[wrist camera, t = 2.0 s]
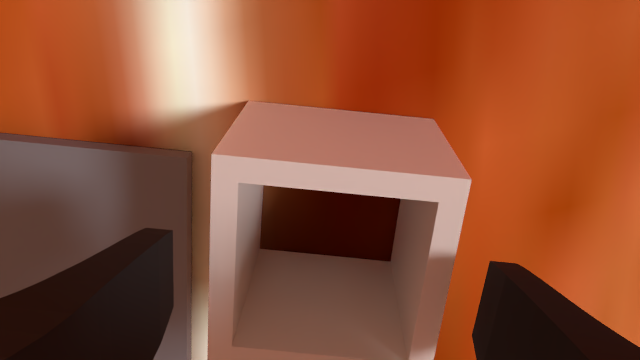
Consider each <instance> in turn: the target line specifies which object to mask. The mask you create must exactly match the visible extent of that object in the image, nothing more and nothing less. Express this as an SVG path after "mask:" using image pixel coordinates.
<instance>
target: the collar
mask: <svg viewBox="0 0 640 360" xmlns="http://www.w3.org/2000/svg"><path fill="white" fill-rule="evenodd" d="M471 180H472V179H471V178H470V176H469V175H468V173H467V172H466V170H465V168H464V167H463V165H462V164H461V162H460V160H459V159H458V157H457V156H456V154H455V152H454V151H453V149H452V148H451V146H450V144H449V143H448V141H447V140H446V138H445V136H444V135H443V133H442V132H441V130H440V129H439V127H438V125H437V124H436V122H435V121H434V119H428V118H417V117H407V116H397V115H387V114H377V113H367V112H357V111H347V110H337V109H326V108H316V107H306V106H296V105H286V104H276V103H266V102H256V101H248V102H247V104H246V105H245V107H244V108H243V109H242V111H241V112H240V114H239V115H238V117H237V118H236V119H235V121H234V122H233V124H232V125H231V127H230V128H229V129H228V131H227V132H226V134H225V135H224V137H223V138H222V140H221V141H220V142H219V144H218V145H217V147H216V148H215V150H214V151H213V152H212V154H211V203H210V257H209V311H208V360H434V355H435V350H436V346H437V341H438V336H439V331H440V327H441V322H442V317H443V313H444V308H445V303H446V298H447V294H448V289H449V284H450V279H451V275H452V270H453V265H454V261H455V256H456V251H457V246H458V242H459V237H460V232H461V227H462V223H463V218H464V213H465V209H466V204H467V199H468V194H469V190H470V185H471ZM264 185H268V186H278V187H288V188H298V189H308V190H318V191H328V192H339V193H349V194H359V195H369V196H379V197H389V198H399V199H400V206H399V212H398V218H397V224H396V230H395V237H394V243H393V249H392V255H391V261H380V260H370V259H359V258H349V257H339V256H329V255H319V254H309V253H298V252H288V251H278V250H268V249H260V239H261V221H262V204H263V187H264Z"/></svg>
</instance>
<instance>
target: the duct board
mask: <svg viewBox="0 0 640 360" xmlns="http://www.w3.org/2000/svg"><path fill="white" fill-rule="evenodd" d="M144 228H155V229H166V230H173V282H174V307H173V310H172V313H171V316H170V319H169V322H168V325H167V328H166V331H165V334H164V336H163V339H162V342H161V344H160V346H159V348H158V351H157V353H156V355H155V357H154V358H153V360H191V261H192V152H189V151H179V150H168V149H158V148H148V147H138V146H128V145H118V144H108V143H97V142H87V141H77V140H67V139H57V138H47V137H37V136H26V135H16V134H6V133H0V298H2V297H4V296H7V295H10V294H12V293H15V292H17V291H20V290H22V289H25V288H27V287H29V286H32V285H34V284H36V283H39V282H41V281H43V280H45V279H47V278H49V277H51V276H53V275H55V274H57V273H59V272H61V271H64V270H66V269H68V268H70V267H72V266H74V265H76V264H78V263H80V262H82V261H84V260H86V259H87V258H89V257H91V256H93V255H95V254H97V253H99V252H100V251H102V250H104V249H106V248H108V247H110V246H111V245H113V244H115V243H117V242H119V241H120V240H122V239H124V238H126V237H128V236H130V235H131V234H133V233H135V232H137V231H139V230H142V229H144Z"/></svg>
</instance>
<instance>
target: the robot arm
mask: <svg viewBox="0 0 640 360" xmlns="http://www.w3.org/2000/svg"><path fill="white" fill-rule="evenodd" d="M173 307H174V282H173V230H166V229H155V228H144V229H142V230H139V231H137V232H135V233H133V234H131V235H130V236H128V237H126V238H124V239H122V240H120V241H119V242H117V243H115V244H113V245H111V246H110V247H108V248H106V249H104V250H102V251H100V252H99V253H97V254H95V255H93V256H91V257H89V258H87V259H86V260H84V261H82V262H80V263H78V264H76V265H74V266H72V267H70V268H68V269H66V270H64V271H61V272H59V273H57V274H55V275H53V276H51V277H49V278H47V279H45V280H43V281H41V282H39V283H36V284H34V285H32V286H29V287H27V288H25V289H22V290H20V291H17V292H15V293H12V294H10V295H7V296H4V297H2V298H0V360H153V358H154V357H155V355H156V353H157V351H158V348H159V346H160V344H161V342H162V339H163V336H164V334H165V331H166V328H167V325H168V322H169V319H170V316H171V313H172V310H173ZM472 338H473V343H474V348H475V353H476V358H477V360H640V347H638V346H636V345H635V344H633V343H631V342H630V341H628V340H627V339H625V338H624V337H622V336H621V335H619V334H617V333H616V332H614V331H613V330H611V329H610V328H608V327H607V326H605V325H604V324H602V323H601V322H599V321H598V320H596V319H595V318H594V317H592V316H591V315H589V314H588V313H586V312H585V311H584V310H582V309H581V308H579V307H578V306H577V305H575V304H574V303H572V302H571V301H570V300H568V299H567V298H566V297H564V296H563V295H562V294H560V293H559V292H557V291H556V290H555V289H553V288H552V287H551V286H549V285H548V284H547V283H545V282H544V281H542V280H541V279H540V278H538V277H537V276H535V275H534V274H533V273H531V272H530V271H528V270H527V269H525V268H524V267H522V266H520V265H518V264H515V263H505V262H495V261H490V263H489V267H488V271H487V275H486V279H485V284H484V288H483V292H482V296H481V300H480V304H479V308H478V313H477V317H476V321H475V325H474V329H473V333H472Z"/></svg>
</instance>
